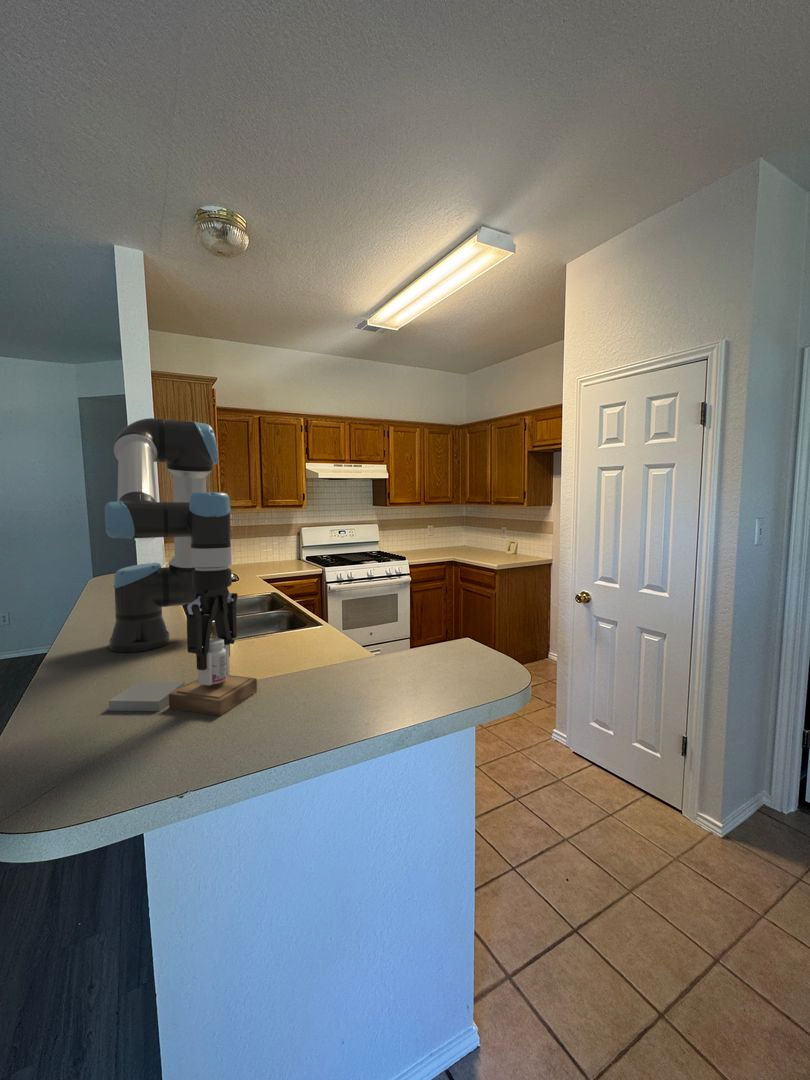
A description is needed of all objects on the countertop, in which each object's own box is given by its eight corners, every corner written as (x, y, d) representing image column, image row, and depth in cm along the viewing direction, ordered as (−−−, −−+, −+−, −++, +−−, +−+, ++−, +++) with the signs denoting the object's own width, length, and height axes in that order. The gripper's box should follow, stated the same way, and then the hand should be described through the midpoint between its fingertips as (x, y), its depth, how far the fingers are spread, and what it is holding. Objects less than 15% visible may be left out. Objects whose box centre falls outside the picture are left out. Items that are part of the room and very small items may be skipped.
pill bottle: (197, 684, 92) (196, 643, 92) (210, 675, 97) (209, 637, 97) (218, 685, 92) (218, 644, 91) (231, 677, 96) (230, 638, 96)
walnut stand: (210, 685, 102) (209, 671, 102) (256, 691, 99) (256, 677, 99) (169, 708, 91) (168, 692, 90) (220, 716, 87) (220, 699, 87)
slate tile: (139, 690, 99) (138, 681, 99) (184, 690, 99) (184, 681, 99) (109, 710, 89) (108, 700, 89) (159, 711, 89) (159, 701, 89)
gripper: (224, 562, 102) (226, 663, 104) (162, 573, 85) (166, 693, 87) (253, 563, 100) (255, 666, 102) (196, 574, 83) (199, 698, 85)
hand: (214, 678), depth 94 cm, fingers closed on pill bottle, 5 cm apart
